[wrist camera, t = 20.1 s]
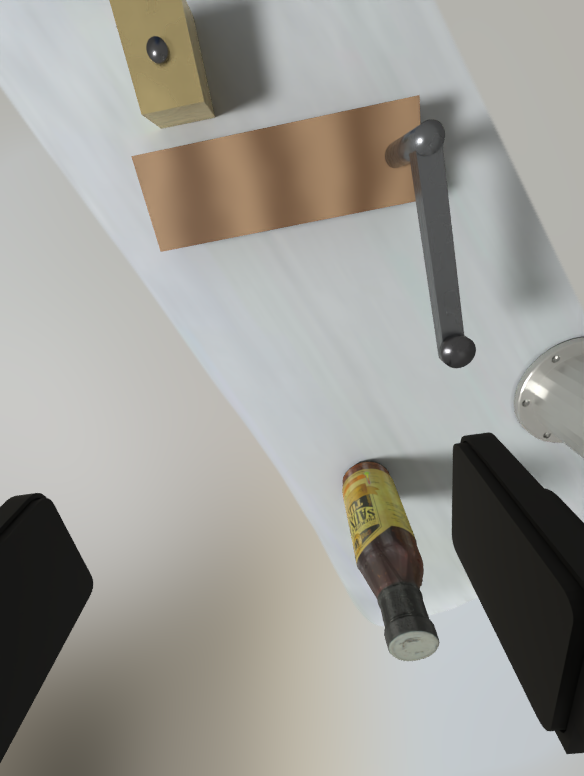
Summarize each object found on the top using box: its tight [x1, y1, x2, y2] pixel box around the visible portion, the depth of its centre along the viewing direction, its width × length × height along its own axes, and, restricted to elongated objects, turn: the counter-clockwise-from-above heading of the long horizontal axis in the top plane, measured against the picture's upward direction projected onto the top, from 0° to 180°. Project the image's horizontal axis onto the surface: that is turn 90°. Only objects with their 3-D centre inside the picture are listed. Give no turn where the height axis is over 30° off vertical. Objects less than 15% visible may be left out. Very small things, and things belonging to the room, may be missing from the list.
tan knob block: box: [110, 0, 215, 129], centre depth 28 cm, size 5×6×5 cm
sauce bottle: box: [342, 462, 439, 661], centre depth 38 cm, size 7×6×20 cm
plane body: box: [132, 95, 420, 252], centre depth 32 cm, size 23×7×4 cm, turn 100°
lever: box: [385, 119, 476, 368], centre depth 29 cm, size 16×2×8 cm, turn 17°
